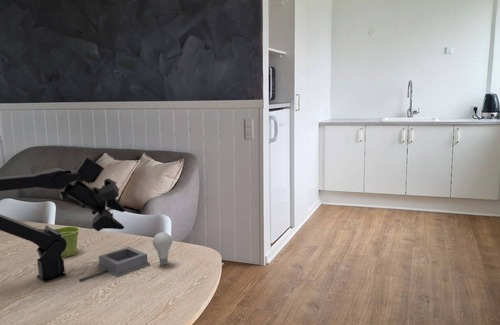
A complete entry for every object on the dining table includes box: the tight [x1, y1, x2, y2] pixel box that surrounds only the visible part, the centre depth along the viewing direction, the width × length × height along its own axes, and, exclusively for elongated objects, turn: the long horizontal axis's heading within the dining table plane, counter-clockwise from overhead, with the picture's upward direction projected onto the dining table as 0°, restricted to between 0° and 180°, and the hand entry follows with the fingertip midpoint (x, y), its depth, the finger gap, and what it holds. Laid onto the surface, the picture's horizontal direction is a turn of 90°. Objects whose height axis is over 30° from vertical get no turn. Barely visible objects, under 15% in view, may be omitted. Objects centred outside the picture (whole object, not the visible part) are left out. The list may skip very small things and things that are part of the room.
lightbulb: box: [152, 231, 173, 266], centre depth 141 cm, size 6×6×11 cm
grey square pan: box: [78, 246, 151, 283], centre depth 138 cm, size 21×12×4 cm, turn 137°
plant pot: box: [57, 226, 80, 258], centre depth 153 cm, size 9×9×9 cm
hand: (123, 219), depth 145 cm, fingers open, 9 cm apart
